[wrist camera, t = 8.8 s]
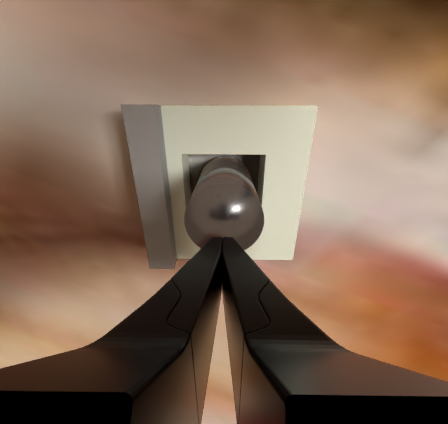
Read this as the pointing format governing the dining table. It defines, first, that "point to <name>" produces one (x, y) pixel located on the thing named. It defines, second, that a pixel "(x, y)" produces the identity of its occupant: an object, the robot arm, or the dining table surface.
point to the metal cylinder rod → (224, 204)
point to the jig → (217, 144)
